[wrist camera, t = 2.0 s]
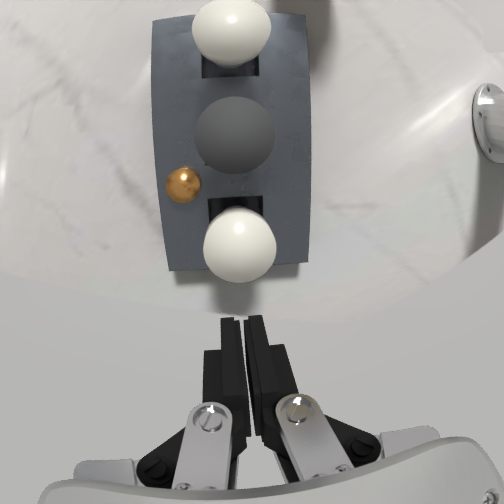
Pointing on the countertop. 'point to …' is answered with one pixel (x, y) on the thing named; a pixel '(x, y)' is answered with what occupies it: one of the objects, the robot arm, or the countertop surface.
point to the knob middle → (234, 135)
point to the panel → (210, 180)
